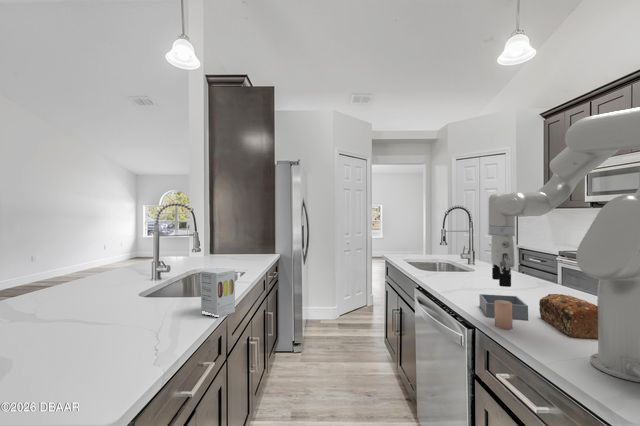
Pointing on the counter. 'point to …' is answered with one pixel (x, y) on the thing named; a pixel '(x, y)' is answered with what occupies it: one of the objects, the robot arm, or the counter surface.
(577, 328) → the bread
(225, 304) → the supplement box
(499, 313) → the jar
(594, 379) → the counter surface
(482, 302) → the bin
